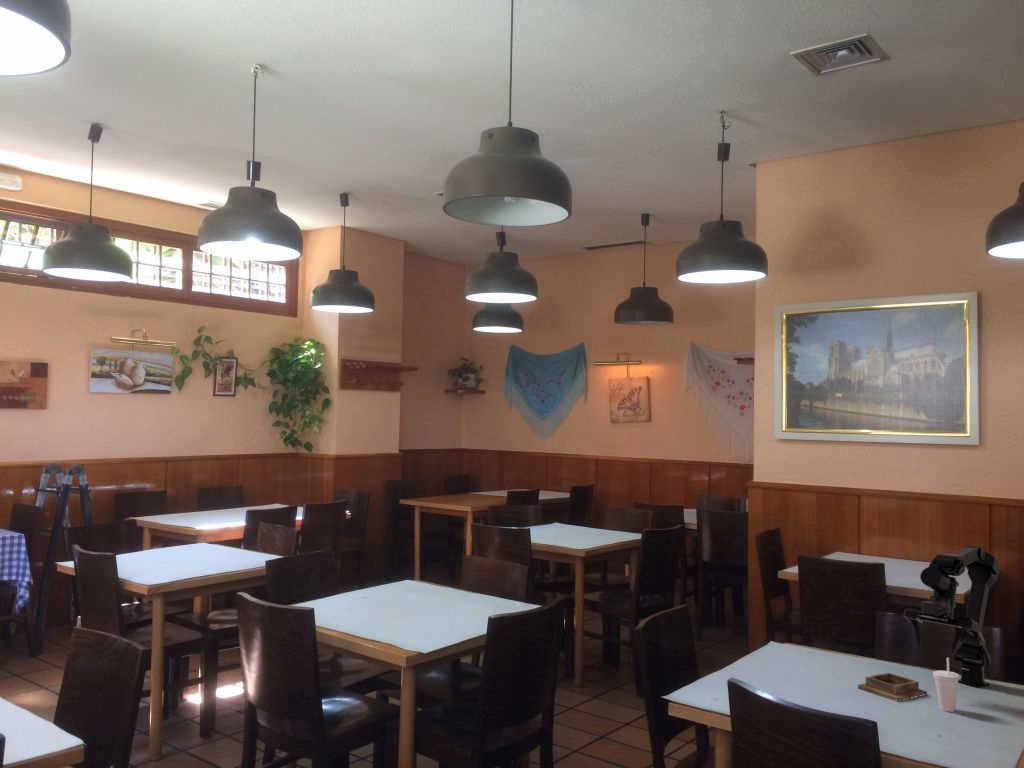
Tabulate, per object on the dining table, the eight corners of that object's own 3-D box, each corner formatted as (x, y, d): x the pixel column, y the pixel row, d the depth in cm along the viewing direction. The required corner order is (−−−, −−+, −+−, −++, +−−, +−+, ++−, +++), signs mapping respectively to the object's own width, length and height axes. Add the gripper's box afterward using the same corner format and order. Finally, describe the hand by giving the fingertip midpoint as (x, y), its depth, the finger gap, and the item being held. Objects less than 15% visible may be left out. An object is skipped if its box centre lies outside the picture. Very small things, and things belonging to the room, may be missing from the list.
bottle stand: (887, 682, 239) (887, 670, 239) (926, 694, 227) (926, 682, 228) (858, 688, 233) (857, 676, 233) (897, 701, 221) (896, 688, 222)
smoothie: (964, 714, 211) (962, 661, 212) (938, 712, 213) (936, 660, 213) (955, 706, 218) (954, 655, 218) (930, 704, 219) (929, 653, 220)
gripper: (899, 583, 232) (890, 636, 227) (967, 593, 217) (959, 650, 212) (915, 594, 238) (907, 646, 233) (983, 605, 223) (975, 660, 218)
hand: (936, 650), depth 224 cm, fingers open, 9 cm apart
